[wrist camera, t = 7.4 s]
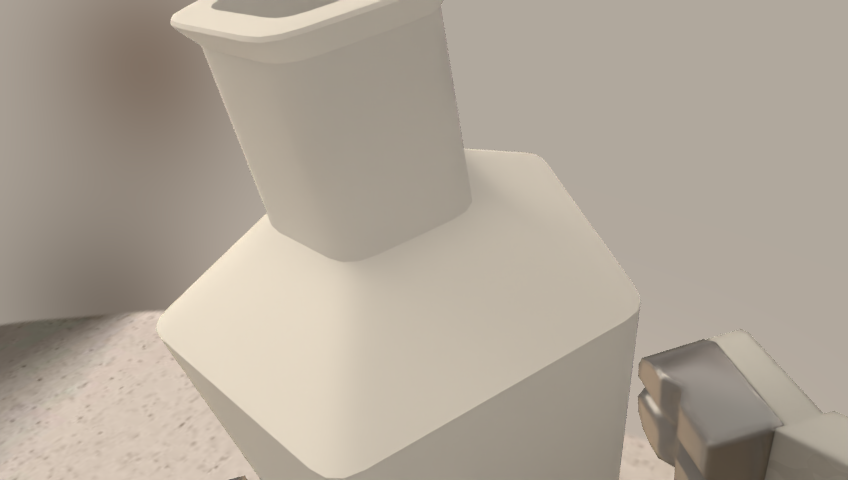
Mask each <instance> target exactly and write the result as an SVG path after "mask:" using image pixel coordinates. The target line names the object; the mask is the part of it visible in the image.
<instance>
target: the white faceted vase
mask: <svg viewBox="0 0 848 480" xmlns="http://www.w3.org/2000/svg"><path fill="white" fill-rule="evenodd" d="M442 2H443V0H198V1H196V2H194V3H192V4H191V5H189V6H187V7H185V8H183V9H182V10H180V11H178V12H177V13H175V14H173V16H172V18H171V22H170V25H172V26H173V27H174V28H175V29H176V30H177V31H179V32H181V33H182V34H184V35H185V36H187V37H188V38H190V39H191V40H193V41H194V42H196V43H198V44H199V45H201V46H202V49H203V51H204V54H205V56H206V59H207V62H208V64H209V66H210V69H211V72H212V74H213V77H214V79H215V82H216V84H217V87H218V89H219V92H220V94H221V97H222V100H223V102H224V105H225V108H226V110H227V113H228V115H229V118H230V120H231V123H232V125H233V128H234V131H235V133H236V136H237V138H238V140H239V143H240V146H241V148H242V151H243V153H244V156H245V159H246V161H247V163H248V166H249V169H250V171H251V174H252V176H253V179H254V182H255V184H256V187H257V189H258V192H259V194H260V197H261V199H262V202H263V205H264V207H265V209H266V212H267V213H266V214H265V215H264V216H263V217H262V218H261V219H260V220H259V221H258V222H257V223H256V224H255V225H254V226H253V227H252V228H251V229H250V230H249V231H248V232H247V233H246V234H244V235H243V236H242V237H241V239H239V240H238V241H237V242H236V243H235V244H234V245H233V246H232V247H231V248H230V249H229V250H228V251H227V252H226V253H225V254H224V255H223V256H222V257H221V258H220V259H219V260H217V261H216V262H215V263H214V264H213V265H212V266H211V267H210V268H209V269H208V270H207V271H206V272H205V273H204V274H203V275H202V276H201V277H200V278H199V279H198V280H197V281H196V282H195V283H194V284H193V285H191V286H190V287H189V288H188V289H187V290H186V291H185V292H184V293H183V294H182V295H181V296H180V297H179V298H178V299H177V300H176V301H175V302H174V303H173V304H172V305H171V306H170V307H169V308H168V309H167V310H166V311H165V312H164V313H163V315H162V316H161V317H160V318H159V319H158V322H157V326H156V331H157V333H158V335H159V336H160V338H161V339H162V341H163V342H164V344H165V345H166V346H167V348H168V349H169V351H170V352H171V354H172V355H173V356H174V358H175V359H176V361H177V362H178V363H179V365H180V366H181V368H182V369H183V370H184V372H185V373H186V375H187V376H188V378H189V379H190V380H191V382H192V383H193V385H194V386H195V387H196V389H197V390H198V392H199V393H200V394H201V396H202V397H203V399H204V400H205V402H206V403H207V404H208V406H209V407H210V409H211V410H212V411H213V413H214V414H215V416H216V417H217V418H218V420H219V421H220V423H221V424H222V426H223V427H224V428H225V430H226V431H227V433H228V434H229V435H230V437H231V438H232V440H233V441H234V442H235V444H236V445H237V447H238V448H239V450H240V451H241V452H242V454H243V455H244V457H245V458H246V459H247V461H248V462H249V464H250V465H251V466H252V468H253V469H254V471H255V472H256V474H257V475H258V476H259V478H260V479H261V480H619V473H620V465H621V457H622V449H623V441H624V433H625V424H626V416H627V408H628V400H629V392H630V384H631V376H632V368H633V359H634V351H635V344H636V336H637V328H638V319H639V311H640V303H641V299H640V296H639V294H638V291H637V289H636V287H635V286H634V284H633V283H632V281H631V280H630V278H629V277H628V276H627V274H626V273H625V272H624V270H623V269H622V267H621V266H620V264H619V263H618V262H617V260H616V259H615V258H614V256H613V255H612V253H611V252H610V251H609V249H608V248H607V246H606V245H605V244H604V242H603V241H602V239H601V238H600V237H599V235H598V234H597V232H596V231H595V230H594V228H593V227H592V225H591V224H590V223H589V221H588V220H587V218H586V217H585V216H584V214H583V213H582V211H581V210H580V209H579V207H578V206H577V204H576V203H575V202H574V200H573V199H572V198H571V196H570V195H569V193H568V192H567V191H566V189H565V188H564V186H563V185H562V184H561V182H560V181H559V179H558V178H557V177H556V175H555V174H554V172H553V171H552V170H551V168H550V167H549V165H548V164H547V163H546V161H545V160H544V159H542V158H541V157H540V156H539V155H535V154H532V153H524V152H509V151H493V150H478V149H464V146H463V140H462V133H461V127H460V121H459V115H458V110H457V103H456V97H455V91H454V84H453V79H452V72H451V66H450V60H449V54H448V48H447V42H446V36H445V30H444V23H443V17H442V12H441V4H442Z"/></svg>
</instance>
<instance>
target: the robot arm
mask: <svg viewBox="0 0 848 480" xmlns="http://www.w3.org/2000/svg"><path fill="white" fill-rule="evenodd" d="M638 376H639V378H640V379H641V381H642V382H643V384H644V386H645V388H644V389H643V391H642V392H641V393H640V394H639V396H638V412H639V415H640V419H641V423H642V427H643V430H644V432H645V434H646V436H647V439H648V441H649V443H650V445H651V447H652V448H653V450H654V452H655V453H656V455H657V457H658V458H659V459H661V460H663V461H665V462H666V463H668V464H670V465H672V466H674V467H675V475H674V480H848V417H847V416H844V415H842V414H840V413H838V412H835V411H832V412H828V413H823V412H822V411H821V410H820V409H819V408H818V407H817V406H816V405H815V404H814V403H813V402H812V401H811V399H809V397H808V396H807V395H806V394H805V393H804V392H803V391H802V390H801V389H800V388H799V386H797V384H796V383H795V382H794V381H793V380H792V379H791V378H790V377H789V376H788V375H787V374H786V372H785V371H784V370H783V369H782V368H781V367H780V366H779V365H778V364H777V363H776V362H775V360H774V359H772V357H771V356H770V355H769V354H768V353H767V352H766V351H765V350H764V349H763V348H762V346H761V345H760V344H759V343H758V342H757V341H756V340H755V339H754V338H753V337H752V336H751V334H749V333H748V332H746V331H744V330H742V329H740V330H736V331H732V332H729V333H726V334H722V335H719V336H716V337H712V338H709V339H707V340H705V339H702V340H699V341H696V342H693V343H689V344H686V345H683V346H680V347H677V348H673V349H670V350H667V351H663V352H660V353H657V354H654V355H650V356H647V357H644V358H642V359H641V361H640V363H639V370H638ZM230 480H247V478H246V477H245V476H241V477H237V478H234V479H230Z"/></svg>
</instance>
